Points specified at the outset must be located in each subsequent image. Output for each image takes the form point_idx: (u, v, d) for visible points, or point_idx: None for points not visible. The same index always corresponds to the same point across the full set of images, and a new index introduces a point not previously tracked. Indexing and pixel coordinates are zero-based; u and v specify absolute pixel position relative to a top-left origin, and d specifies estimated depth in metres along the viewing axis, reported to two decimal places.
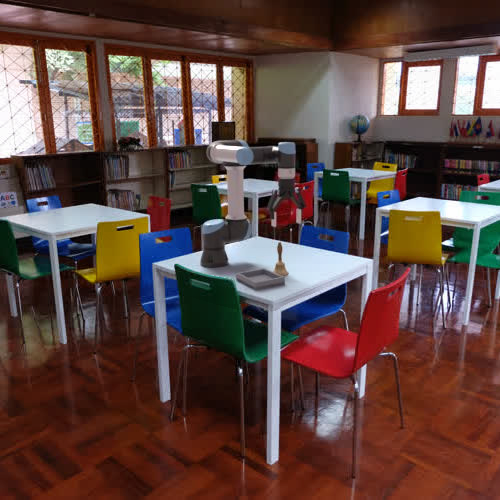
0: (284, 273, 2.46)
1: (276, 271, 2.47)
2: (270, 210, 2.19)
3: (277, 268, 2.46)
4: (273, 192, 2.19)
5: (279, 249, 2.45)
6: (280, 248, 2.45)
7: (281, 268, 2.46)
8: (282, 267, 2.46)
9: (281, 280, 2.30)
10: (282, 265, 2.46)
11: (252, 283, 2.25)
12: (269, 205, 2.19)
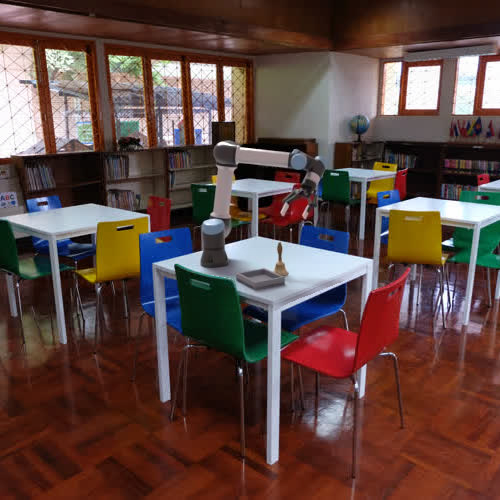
0: (284, 273, 2.46)
1: (276, 271, 2.47)
2: (315, 207, 2.47)
3: (277, 268, 2.46)
4: (316, 192, 2.50)
5: (279, 249, 2.45)
6: (280, 248, 2.45)
7: (281, 268, 2.46)
8: (282, 267, 2.46)
9: (281, 280, 2.30)
10: (282, 265, 2.46)
11: (252, 283, 2.25)
12: (316, 202, 2.47)
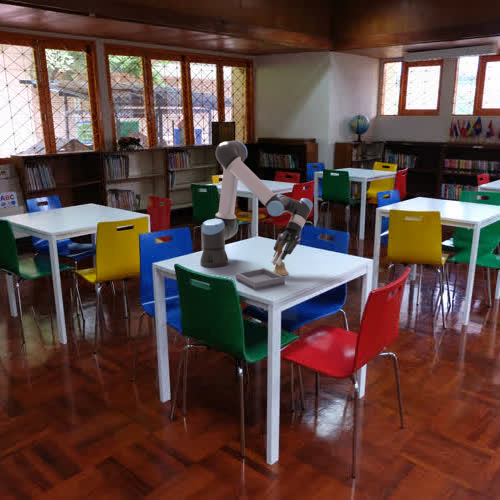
0: (284, 273, 2.46)
1: (276, 271, 2.46)
2: (289, 253, 2.46)
3: (277, 268, 2.46)
4: (298, 240, 2.46)
5: (279, 249, 2.45)
6: (280, 248, 2.45)
7: (281, 268, 2.46)
8: (282, 267, 2.46)
9: (281, 280, 2.30)
10: (282, 265, 2.46)
11: (252, 283, 2.25)
12: (292, 249, 2.45)
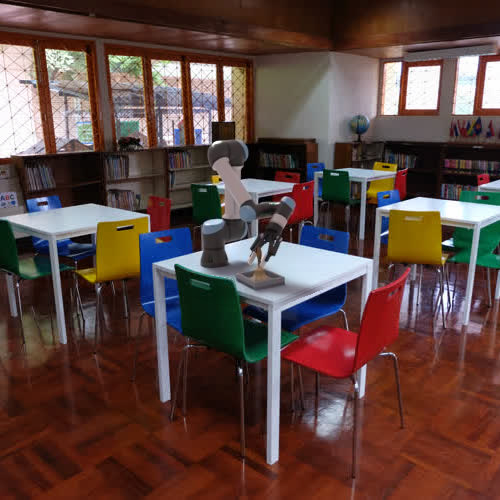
0: (264, 279, 2.32)
1: (255, 277, 2.33)
2: (273, 255, 2.30)
3: (256, 274, 2.33)
4: (280, 239, 2.32)
5: (258, 254, 2.31)
6: (259, 253, 2.31)
7: (261, 274, 2.32)
8: (262, 273, 2.32)
9: (281, 280, 2.30)
10: (262, 271, 2.32)
11: (252, 283, 2.25)
12: (275, 251, 2.30)
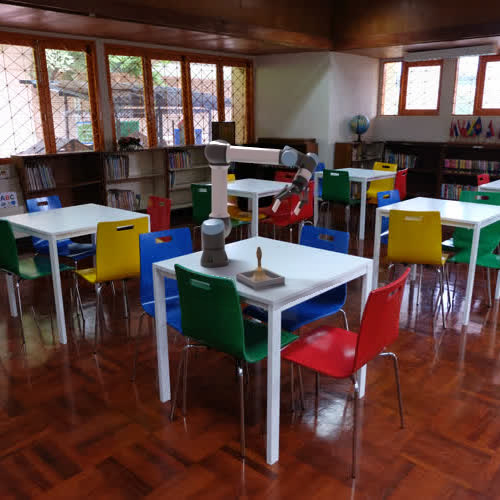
0: (264, 279, 2.32)
1: (255, 277, 2.33)
2: None
3: (256, 274, 2.33)
4: (308, 189, 2.50)
5: (258, 254, 2.31)
6: (259, 253, 2.31)
7: (261, 274, 2.32)
8: (262, 273, 2.32)
9: (281, 280, 2.30)
10: (262, 271, 2.32)
11: (252, 283, 2.25)
12: (307, 198, 2.47)
